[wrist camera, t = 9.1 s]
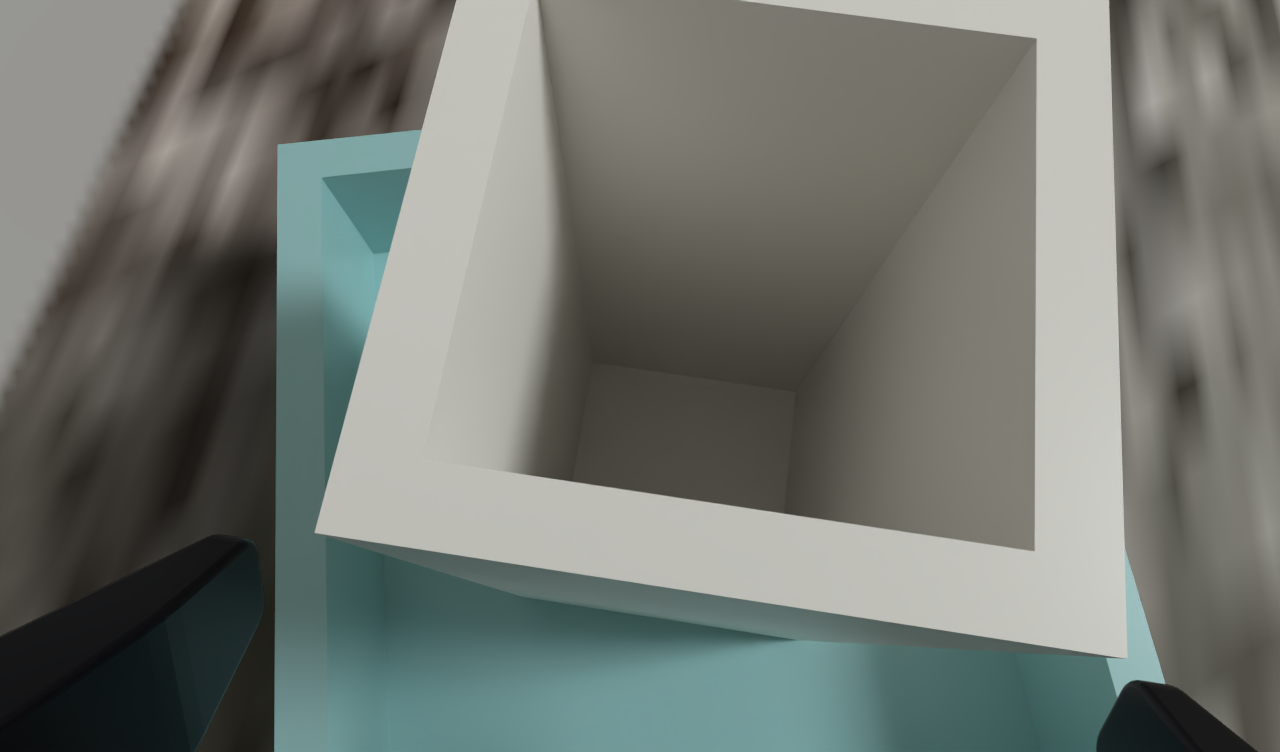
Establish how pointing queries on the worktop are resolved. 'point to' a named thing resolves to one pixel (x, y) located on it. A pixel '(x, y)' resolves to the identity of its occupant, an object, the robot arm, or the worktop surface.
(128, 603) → the robot arm
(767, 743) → the crate
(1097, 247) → the white hollow square box
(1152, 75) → the worktop surface
